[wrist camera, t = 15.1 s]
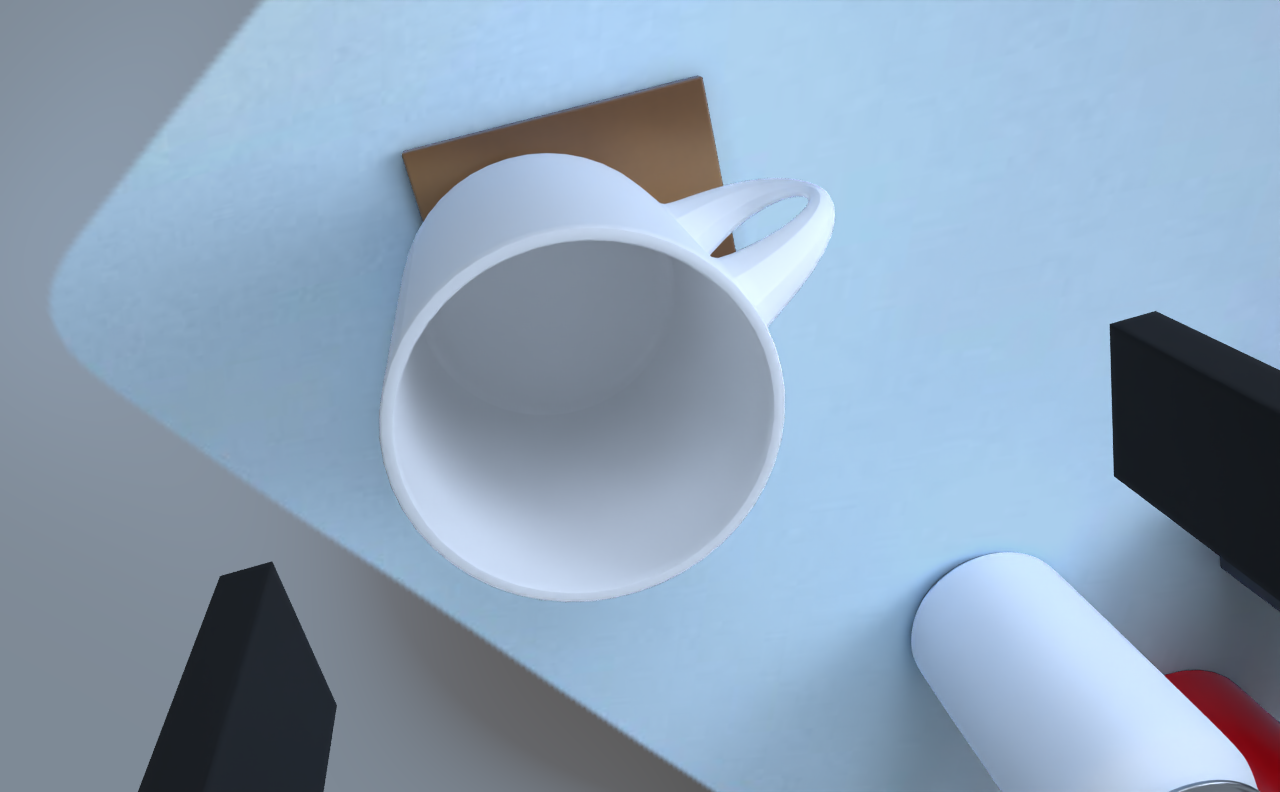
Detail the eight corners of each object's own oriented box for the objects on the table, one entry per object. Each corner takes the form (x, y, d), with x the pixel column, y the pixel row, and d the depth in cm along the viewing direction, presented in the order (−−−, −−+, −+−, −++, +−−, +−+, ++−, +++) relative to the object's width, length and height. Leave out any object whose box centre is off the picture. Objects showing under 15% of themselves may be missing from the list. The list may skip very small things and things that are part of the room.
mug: (821, 276, 32) (981, 401, 23) (502, 465, 33) (522, 667, 23) (698, 28, 29) (824, 48, 19) (343, 244, 29) (289, 372, 20)
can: (936, 536, 37) (1134, 763, 26) (1085, 555, 39) (1332, 776, 28) (884, 680, 40) (1048, 945, 29) (1027, 692, 41) (1236, 949, 30)
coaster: (401, 151, 29) (401, 153, 29) (699, 74, 30) (702, 76, 29) (488, 424, 33) (488, 430, 32) (752, 351, 33) (756, 355, 33)
